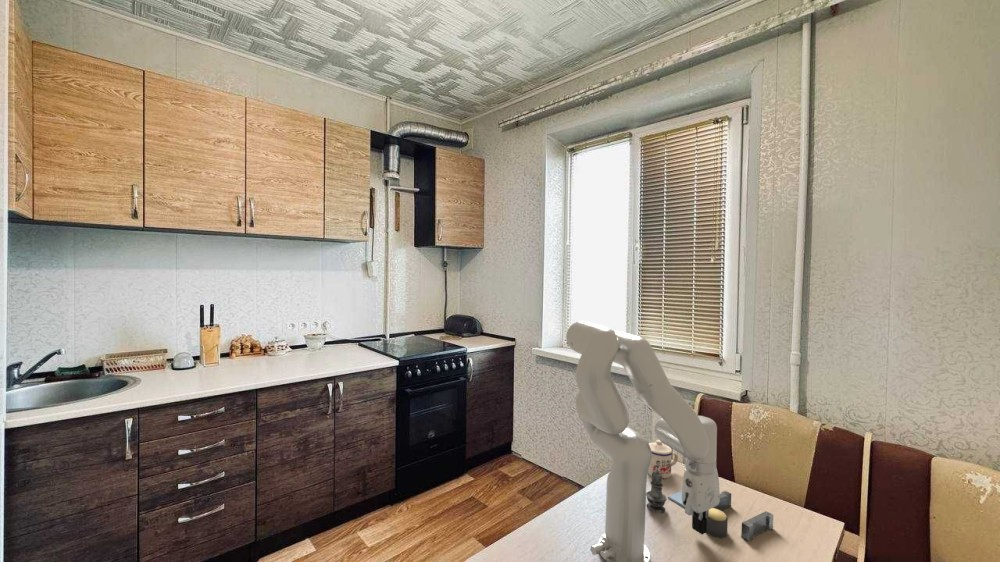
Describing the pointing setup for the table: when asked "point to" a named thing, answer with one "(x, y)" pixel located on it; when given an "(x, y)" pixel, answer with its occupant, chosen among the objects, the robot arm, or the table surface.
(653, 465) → the teacup with lid
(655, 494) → the dark grey turned post
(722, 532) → the grey and yellow cylinder
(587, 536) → the table surface
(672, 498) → the mat
